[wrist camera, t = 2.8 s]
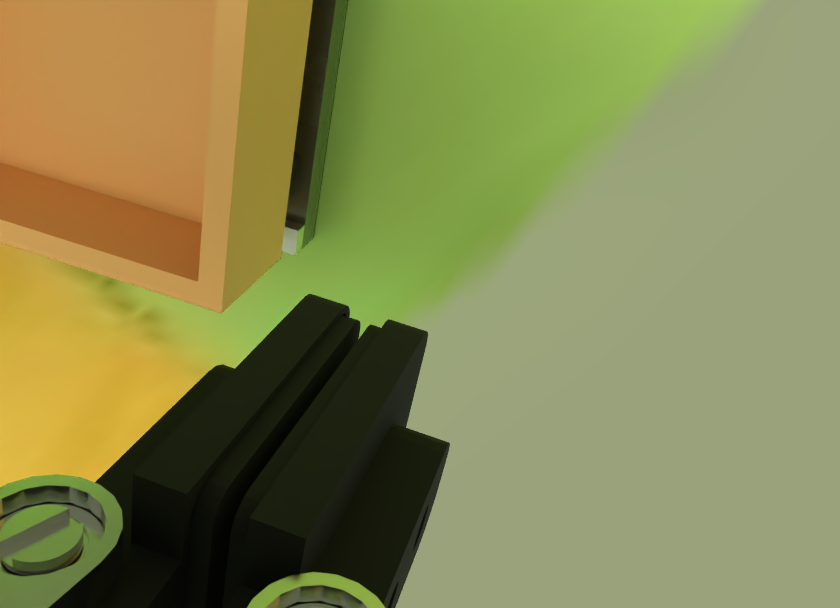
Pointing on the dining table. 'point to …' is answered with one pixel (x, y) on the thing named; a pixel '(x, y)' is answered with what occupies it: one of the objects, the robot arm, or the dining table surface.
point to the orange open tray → (151, 137)
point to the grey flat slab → (313, 121)
